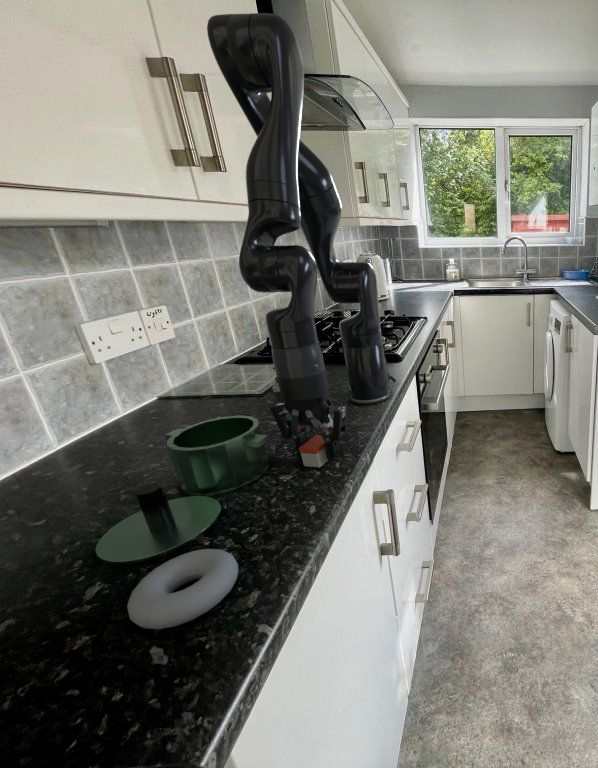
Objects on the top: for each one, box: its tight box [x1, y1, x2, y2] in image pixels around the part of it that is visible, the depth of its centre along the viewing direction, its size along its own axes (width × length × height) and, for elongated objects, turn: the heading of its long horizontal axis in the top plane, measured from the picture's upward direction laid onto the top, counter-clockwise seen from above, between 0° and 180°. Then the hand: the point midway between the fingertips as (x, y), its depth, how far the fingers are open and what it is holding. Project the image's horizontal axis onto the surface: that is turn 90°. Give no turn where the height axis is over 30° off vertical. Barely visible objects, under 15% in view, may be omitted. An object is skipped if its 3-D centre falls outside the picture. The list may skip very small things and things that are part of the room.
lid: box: [95, 482, 222, 565], centre depth 56 cm, size 14×14×7 cm
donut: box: [126, 548, 239, 630], centre depth 46 cm, size 10×4×10 cm
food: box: [299, 434, 329, 468], centre depth 75 cm, size 5×3×4 cm
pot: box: [164, 415, 270, 497], centre depth 70 cm, size 13×18×8 cm
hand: (319, 456), depth 75 cm, fingers open, 5 cm apart
